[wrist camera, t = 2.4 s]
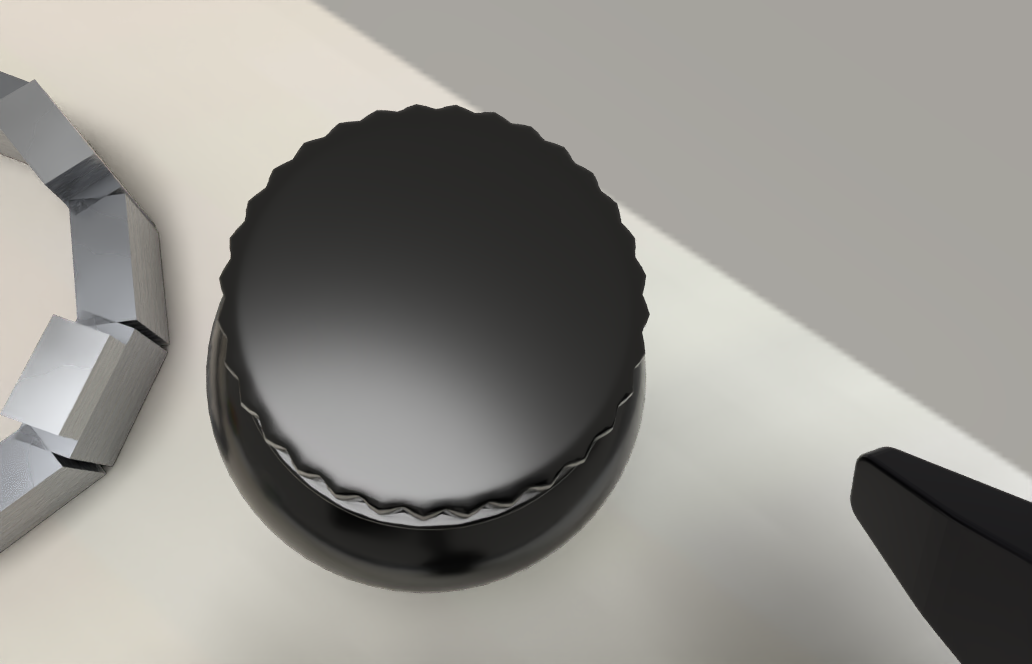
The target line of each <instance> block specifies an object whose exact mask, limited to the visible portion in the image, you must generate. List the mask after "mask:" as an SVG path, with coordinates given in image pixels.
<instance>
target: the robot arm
mask: <svg viewBox="0 0 1032 664" xmlns="http://www.w3.org/2000/svg"><path fill="white" fill-rule="evenodd" d="M850 501H851V506H852V510H853V512H854V514H855V516H856V518H857V519H858V521H859V522H860V524H861V525H862V527H863V528H864V530H865V531H866V533H867V534H868V536H869V537H870V539H871V540H872V542H873V543H874V545H875V546H876V548H877V549H878V551H879V552H880V554H881V555H882V557H883V558H884V560H885V561H886V563H887V564H888V566H889V567H890V569H891V570H892V572H893V573H894V575H895V576H896V578H897V579H898V581H899V582H900V584H901V585H902V587H903V588H904V590H905V591H906V593H907V594H908V596H909V597H910V599H911V600H912V602H913V603H914V604H915V606H916V607H917V609H918V610H919V611H920V613H921V614H922V616H923V617H924V618H925V619H926V621H927V622H928V623H929V625H930V626H931V627H932V628H933V630H934V631H935V632H936V633H937V635H938V636H939V637H940V638H941V639H942V641H943V642H944V643H945V644H946V646H947V647H948V648H949V649H950V650H951V652H952V653H953V654H954V655H955V657H956V658H957V659H958V660H959V661H960V663H961V664H1032V502H1029V501H1027V500H1024V499H1022V498H1019V497H1017V496H1014V495H1011V494H1009V493H1006V492H1004V491H1001V490H999V489H996V488H994V487H991V486H989V485H986V484H984V483H981V482H979V481H976V480H974V479H971V478H969V477H966V476H964V475H961V474H959V473H956V472H953V471H951V470H948V469H946V468H943V467H941V466H938V465H936V464H933V463H931V462H928V461H926V460H923V459H921V458H918V457H916V456H913V455H911V454H908V453H906V452H903V451H901V450H898V449H895V448H892V447H881V448H878V449H875V450H873V451H870V452H867V453H864V454H862V455H860V456H859V458H858V459H857V461H856V465H855V471H854V477H853V483H852V489H851V495H850Z"/></svg>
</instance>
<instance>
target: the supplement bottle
mask: <svg viewBox="0 0 1032 664" xmlns="http://www.w3.org/2000/svg"><path fill="white" fill-rule="evenodd" d="M635 248H636V246H635V238H634V236H633V235H632V234H631V233H630V231H629V230H628V229H627V228H626V227H625V226H624V225H623V224H622V223H621V218H620V212H619V209H618V205H617V203H616V202H614V201H613V200H612V199H611V198H610V197H609V196H607V195H606V194H605V193H603V192H602V191H601V190H600V188H599V186H598V182H597V180H596V178H595V176H594V174H593V173H592V172H590V171H589V170H587V169H585V168H584V167H582V166H579V165H577V164H575V162H574V161H573V160H572V158H571V156H570V155H569V153H568V152H567V150H566V149H565V148H564V147H562V146H560V145H557V144H555V143H551V142H548V141H545V140H544V139H543V138H542V137H541V136H540V135H539V134H538V132H537V131H535V130H534V129H533V128H532V127H530V126H526V125H520V124H512V123H510V122H509V121H507V120H506V119H505V118H503V117H502V116H500V115H498V114H497V113H494V112H483V113H473V112H471V111H469V110H467V109H465V108H463V107H460V106H457V105H452V106H446V107H444V108H440V109H434V108H430V107H427V106H423V105H417V104H415V105H413V106H410V107H407V108H405V109H404V110H401V111H398V112H395V111H386V110H376V111H375V112H373V113H371V114H370V115H368V116H366V117H365V118H364V119H362V120H361V121H353V122H344V123H339V124H338V125H336V126H335V127H334V128H333V129H332V130H331V131H330V133H329V134H328V135H326V136H325V137H323V138H319V139H315V140H312V141H309V142H306V143H304V144H303V145H302V146H301V148H300V149H299V150H298V152H297V153H296V155H295V157H294V158H293V160H291V161H288V162H286V163H284V164H282V165H280V166H278V167H277V168H275V169H273V171H272V173H271V175H270V177H269V182H268V184H267V186H266V188H265V189H263V190H262V191H261V192H259V193H258V194H256V195H255V196H254V197H253V198H252V199H250V200H249V201H248V204H247V209H246V218H245V221H244V222H243V223H242V225H241V226H240V227H239V228H238V229H237V230H236V231H235V232H234V234H233V235H232V236H231V237H230V252H231V259H230V260H229V262H228V263H227V265H226V266H225V268H224V270H223V272H222V274H221V276H220V278H219V280H220V284H221V289H222V292H223V297H222V299H221V301H220V304H219V307H218V310H217V313H216V316H215V320H214V323H213V327H212V332H211V336H210V341H209V347H208V357H207V366H206V388H207V399H208V409H209V415H210V420H211V424H212V429H213V434H214V437H215V440H216V443H217V446H218V449H219V452H220V455H221V457H222V459H223V462H224V464H225V466H226V468H227V470H228V473H229V475H230V477H231V478H232V480H233V482H234V484H235V485H236V487H237V489H238V490H239V492H240V494H241V495H242V497H243V498H244V499H245V501H246V502H247V504H248V505H249V506H250V508H251V509H252V510H253V512H254V513H255V514H256V515H257V516H258V517H259V518H260V520H261V521H262V522H263V523H264V524H265V525H266V526H267V527H268V528H269V529H270V530H271V531H272V532H273V533H274V534H275V535H276V536H277V537H279V538H280V539H281V540H282V541H283V542H284V543H285V544H287V545H288V546H289V547H291V548H292V549H293V550H295V551H296V552H298V553H299V554H300V555H302V556H303V557H305V558H306V559H308V560H310V561H311V562H313V563H315V564H317V565H319V566H320V567H322V568H324V569H326V570H328V571H330V572H332V573H335V574H337V575H339V576H342V577H344V578H346V579H349V580H352V581H355V582H359V583H362V584H365V585H368V586H372V587H377V588H382V589H387V590H392V591H403V592H413V593H439V592H448V591H457V590H464V589H469V588H473V587H478V586H483V585H486V584H489V583H492V582H495V581H498V580H501V579H505V578H507V577H509V576H512V575H514V574H516V573H518V572H521V571H523V570H525V569H527V568H529V567H531V566H532V565H534V564H536V563H538V562H539V561H541V560H543V559H545V558H546V557H548V556H549V555H551V554H552V553H553V552H555V551H556V550H558V549H559V548H560V547H562V546H563V545H564V544H566V543H567V542H568V541H569V540H570V539H571V538H572V537H574V536H575V535H576V534H577V533H578V532H579V531H580V530H581V529H582V528H583V527H584V526H585V525H586V524H587V523H588V522H589V521H590V520H591V519H592V518H593V517H594V516H595V514H596V513H597V512H598V510H599V509H600V508H601V506H602V505H603V504H604V503H605V501H606V500H607V499H608V497H609V496H610V494H611V492H612V491H613V489H614V487H615V486H616V484H617V483H618V481H619V479H620V477H621V475H622V473H623V471H624V469H625V467H626V465H627V463H628V461H629V458H630V456H631V453H632V450H633V447H634V445H635V442H636V439H637V435H638V431H639V427H640V423H641V419H642V413H643V407H644V400H645V385H646V368H645V347H644V340H643V335H642V331H643V328H644V327H645V325H646V323H647V320H648V318H649V315H650V314H649V311H648V308H647V304H646V302H645V299H644V297H643V290H644V286H645V279H646V274H645V273H644V271H643V269H642V267H641V265H640V264H639V262H638V261H637V259H636V258H635Z"/></svg>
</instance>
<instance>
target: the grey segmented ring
mask: <svg viewBox="0 0 1032 664" xmlns="http://www.w3.org/2000/svg"><path fill="white" fill-rule="evenodd" d="M0 154H2V155H5V156H8V157H11V158H13V159H16V160H19V161H21V162H24V163H27V164H29V165H30V167H31V168H32V169H33V170H34V172H35V173H36V174H37V175H38V177H39V178H40V179H41V180H42V182H43V183H44V184H45V185H46V186H47V187H48V188H49V189H50V190H51V191H52V192H53V193H55V194H56V195H57V196H58V197H59V198H60V199H61V200H62V201H63V202H64V203H65V204H66V205H67V207H68V208H69V211H70V224H71V238H72V251H73V265H74V279H75V292H76V306H77V320H76V322H73V321H70V320H68V319H65V318H62V317H59V316H57V315H54V314H53V316H52V318H51V320H50V322H49V324H48V325H47V327H46V329H45V331H44V333H43V335H42V337H41V339H40V340H39V342H38V344H37V346H36V348H35V350H34V352H33V353H32V355H31V357H30V359H29V361H28V363H27V365H26V367H25V368H24V370H23V372H22V374H21V376H20V378H19V380H18V381H17V383H16V385H15V387H14V389H13V391H12V393H11V395H10V396H9V398H8V400H7V402H6V404H5V406H4V408H3V409H2V411H1V413H0V415H2V416H5V417H8V418H11V419H13V420H16V421H19V422H22V425H21V427H20V428H19V430H17V431H16V432H14V433H13V434H12V435H10V436H9V437H7V438H6V439H4V440H3V441H2V442H0V552H2V551H3V550H4V549H6V548H7V547H9V546H10V545H11V544H13V543H14V542H15V541H17V540H18V539H19V538H21V537H22V536H23V535H25V534H26V533H27V532H29V531H30V530H31V529H33V528H34V527H35V526H37V525H38V524H39V523H41V522H42V521H43V520H45V519H46V518H47V517H49V516H50V515H51V514H53V513H54V512H56V511H57V510H58V509H60V508H61V507H62V506H64V505H65V504H66V503H68V502H69V501H70V500H72V499H73V498H74V497H76V496H77V495H78V494H80V493H81V492H82V491H84V490H85V489H86V488H88V487H89V486H90V485H92V484H93V483H94V482H96V481H97V480H99V479H100V478H101V477H103V476H104V475H105V474H106V472H105V471H104V470H103V469H102V467H101V466H100V465H99V464H102V465H108V466H113V464H114V462H115V460H116V458H117V456H118V454H119V452H120V450H121V448H122V446H123V444H124V442H125V440H126V438H127V435H128V433H129V431H130V429H131V427H132V425H133V423H134V421H135V419H136V417H137V415H138V413H139V411H140V409H141V407H142V405H143V402H144V400H145V398H146V396H147V394H148V392H149V390H150V388H151V386H152V384H153V382H154V380H155V378H156V376H157V374H158V372H159V370H160V367H161V365H162V363H163V361H164V359H165V357H166V355H167V353H168V352H167V351H165V350H164V349H163V348H161V347H160V346H161V345H167V344H169V335H168V325H167V315H166V305H165V295H164V284H163V274H162V264H161V254H160V244H159V234H158V232H157V230H156V229H155V228H154V226H155V224H154V223H153V222H152V221H151V220H150V218H149V217H148V216H147V215H146V213H145V212H144V211H143V210H142V208H141V207H140V206H139V205H138V204H137V202H136V201H135V200H134V199H133V197H132V196H131V195H130V194H129V192H128V191H127V190H126V189H125V188H124V186H123V185H122V184H121V183H120V181H119V180H118V179H117V178H116V177H115V175H114V174H113V173H112V172H111V170H110V169H109V168H108V167H107V165H106V164H105V163H104V162H103V161H102V159H101V158H100V157H99V156H98V154H97V153H96V152H95V151H94V149H93V148H92V147H91V146H90V145H89V143H88V142H87V141H86V140H85V139H84V137H83V136H82V135H81V134H80V133H79V131H78V130H77V129H76V128H75V127H74V125H73V124H72V123H71V122H70V121H69V119H68V118H67V117H66V116H65V115H64V113H63V112H62V111H61V110H60V109H59V107H58V106H57V105H56V104H55V103H54V102H53V100H52V99H51V98H50V97H49V96H48V94H47V93H46V92H45V91H44V90H43V89H42V88H41V86H40V85H39V84H38V83H37V82H36V80H35V79H34V80H33V81H31V82H27V81H24V80H22V79H19V78H16V77H14V76H11V75H9V74H6V73H3V72H1V71H0Z"/></svg>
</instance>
